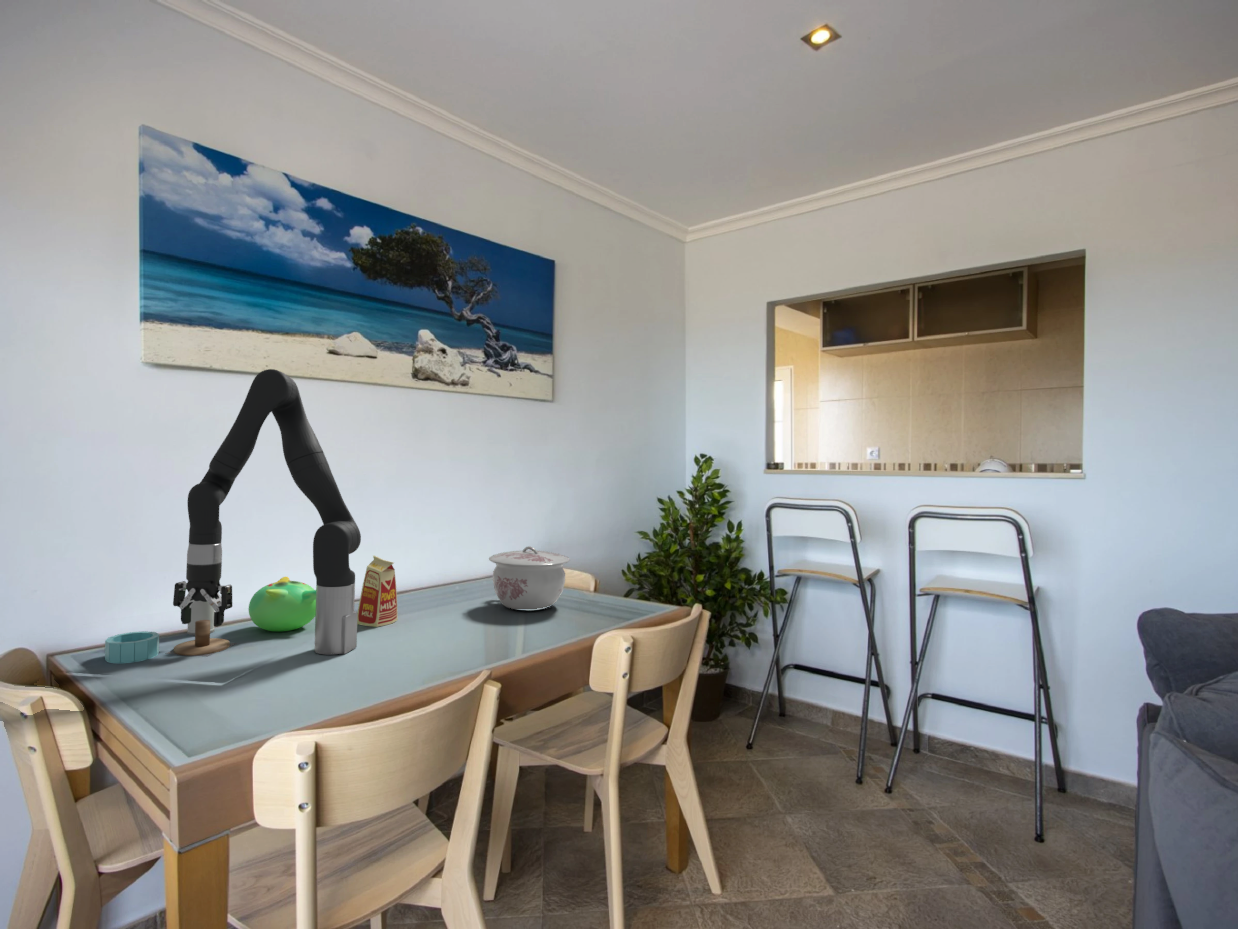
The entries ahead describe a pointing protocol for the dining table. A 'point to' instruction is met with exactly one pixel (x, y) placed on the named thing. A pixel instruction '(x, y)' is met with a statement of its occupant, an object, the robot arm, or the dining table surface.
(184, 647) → the lid
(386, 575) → the milk carton
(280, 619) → the toy bird
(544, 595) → the chamber pot
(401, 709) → the dining table surface
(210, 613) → the travel mug
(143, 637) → the bowl
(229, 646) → the mat
